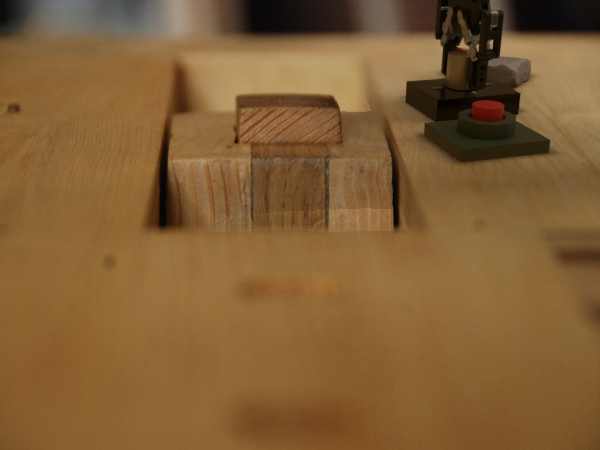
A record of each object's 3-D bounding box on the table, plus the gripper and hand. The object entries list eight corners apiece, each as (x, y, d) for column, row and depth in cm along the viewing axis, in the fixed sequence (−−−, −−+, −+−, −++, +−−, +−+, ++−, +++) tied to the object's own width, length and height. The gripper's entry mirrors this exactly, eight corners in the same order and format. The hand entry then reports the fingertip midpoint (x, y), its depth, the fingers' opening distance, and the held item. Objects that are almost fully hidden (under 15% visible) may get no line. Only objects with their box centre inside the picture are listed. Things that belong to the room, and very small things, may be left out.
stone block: (464, 77, 134) (438, 77, 126) (470, 47, 132) (444, 46, 124) (533, 91, 128) (511, 92, 119) (540, 60, 126) (519, 59, 118)
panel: (482, 95, 117) (484, 74, 116) (518, 115, 109) (521, 91, 107) (405, 102, 114) (406, 80, 113) (435, 122, 105) (437, 98, 104)
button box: (504, 132, 102) (507, 100, 100) (548, 157, 93) (552, 124, 92) (423, 139, 99) (425, 107, 97) (461, 167, 90) (464, 132, 89)
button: (493, 113, 97) (494, 99, 96) (508, 122, 93) (510, 107, 93) (465, 116, 96) (466, 101, 95) (480, 124, 93) (481, 109, 92)
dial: (484, 89, 109) (487, 53, 107) (453, 91, 108) (456, 55, 106) (470, 81, 113) (473, 46, 111) (440, 83, 112) (443, 48, 110)
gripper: (422, -51, 108) (415, 71, 115) (473, -39, 96) (461, 97, 103) (473, -53, 110) (463, 67, 117) (529, -41, 98) (514, 93, 105)
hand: (462, 81), depth 110 cm, fingers open, 7 cm apart
